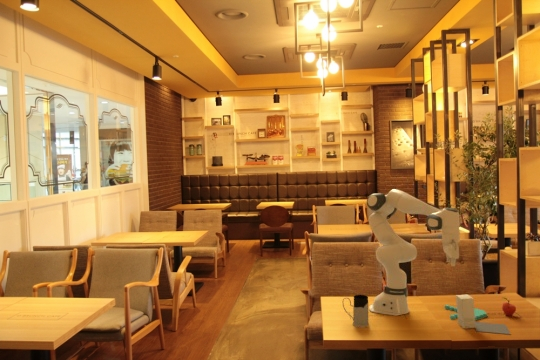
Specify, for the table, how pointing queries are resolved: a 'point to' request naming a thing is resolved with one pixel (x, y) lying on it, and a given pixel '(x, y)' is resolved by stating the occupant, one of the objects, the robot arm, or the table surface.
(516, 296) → the table surface
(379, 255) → the robot arm
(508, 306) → the apple
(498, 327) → the mat
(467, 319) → the skincare box
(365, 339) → the table surface
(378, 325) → the table surface
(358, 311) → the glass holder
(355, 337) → the table surface
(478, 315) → the alien figure
